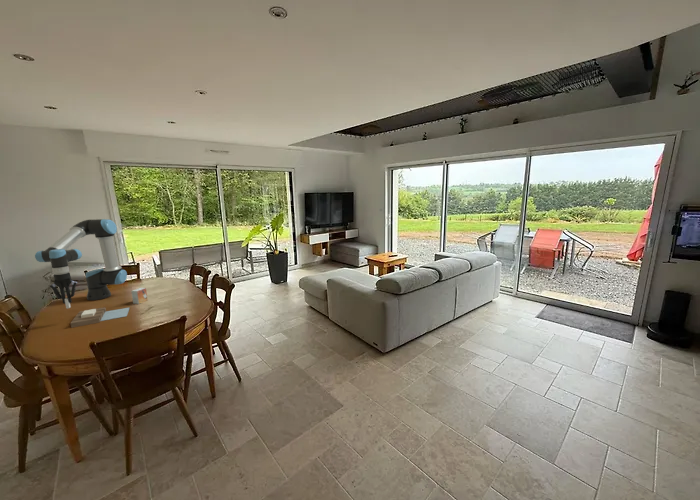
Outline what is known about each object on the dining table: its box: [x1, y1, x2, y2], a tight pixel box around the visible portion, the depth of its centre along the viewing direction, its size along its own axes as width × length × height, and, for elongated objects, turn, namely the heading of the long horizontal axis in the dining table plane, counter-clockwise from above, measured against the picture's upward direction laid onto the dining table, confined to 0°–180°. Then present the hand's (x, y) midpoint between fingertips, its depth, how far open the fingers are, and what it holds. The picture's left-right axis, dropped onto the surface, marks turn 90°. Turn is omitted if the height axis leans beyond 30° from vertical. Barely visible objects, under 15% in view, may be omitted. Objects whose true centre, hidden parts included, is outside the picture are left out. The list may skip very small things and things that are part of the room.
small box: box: [130, 287, 149, 305], centre depth 222 cm, size 8×6×10 cm
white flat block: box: [81, 308, 97, 318], centre depth 193 cm, size 9×6×2 cm, turn 32°
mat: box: [100, 307, 130, 322], centre depth 201 cm, size 18×14×1 cm
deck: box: [70, 306, 107, 329], centre depth 193 cm, size 22×14×3 cm, turn 32°
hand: (68, 307), depth 186 cm, fingers closed
